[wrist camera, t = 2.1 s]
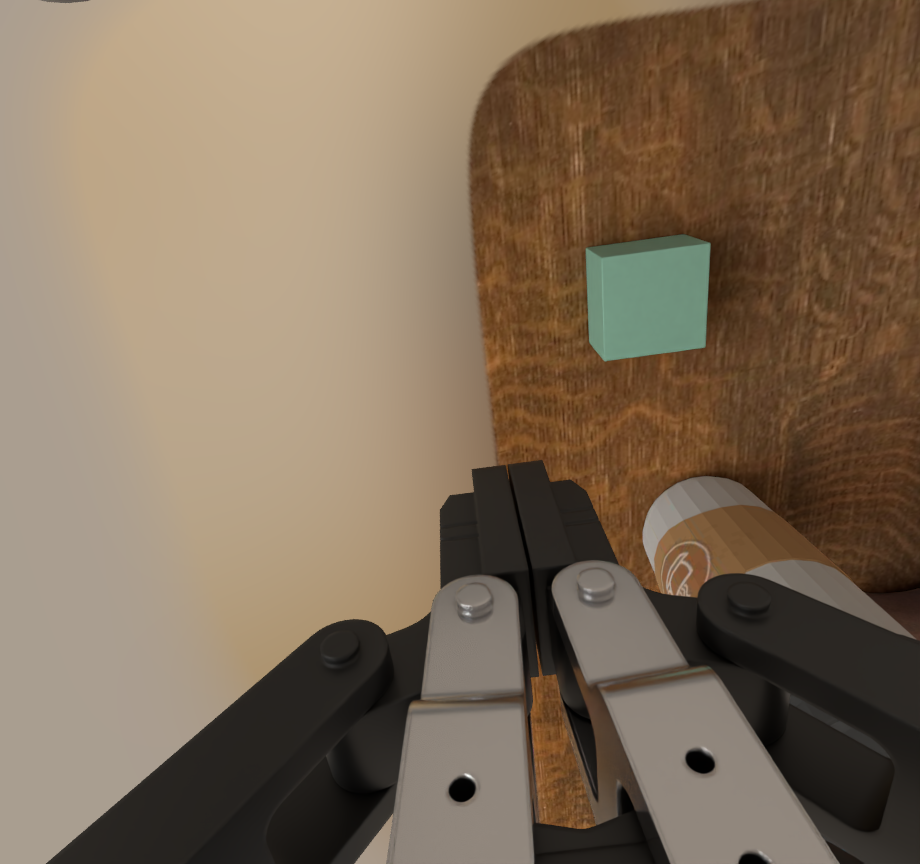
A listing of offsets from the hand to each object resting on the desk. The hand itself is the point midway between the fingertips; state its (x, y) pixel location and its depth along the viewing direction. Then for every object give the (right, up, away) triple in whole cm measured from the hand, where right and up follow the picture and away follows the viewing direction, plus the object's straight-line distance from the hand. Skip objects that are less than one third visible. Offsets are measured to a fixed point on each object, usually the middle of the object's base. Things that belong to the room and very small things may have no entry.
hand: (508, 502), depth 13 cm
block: (+7, +8, +15) cm, 18 cm away
